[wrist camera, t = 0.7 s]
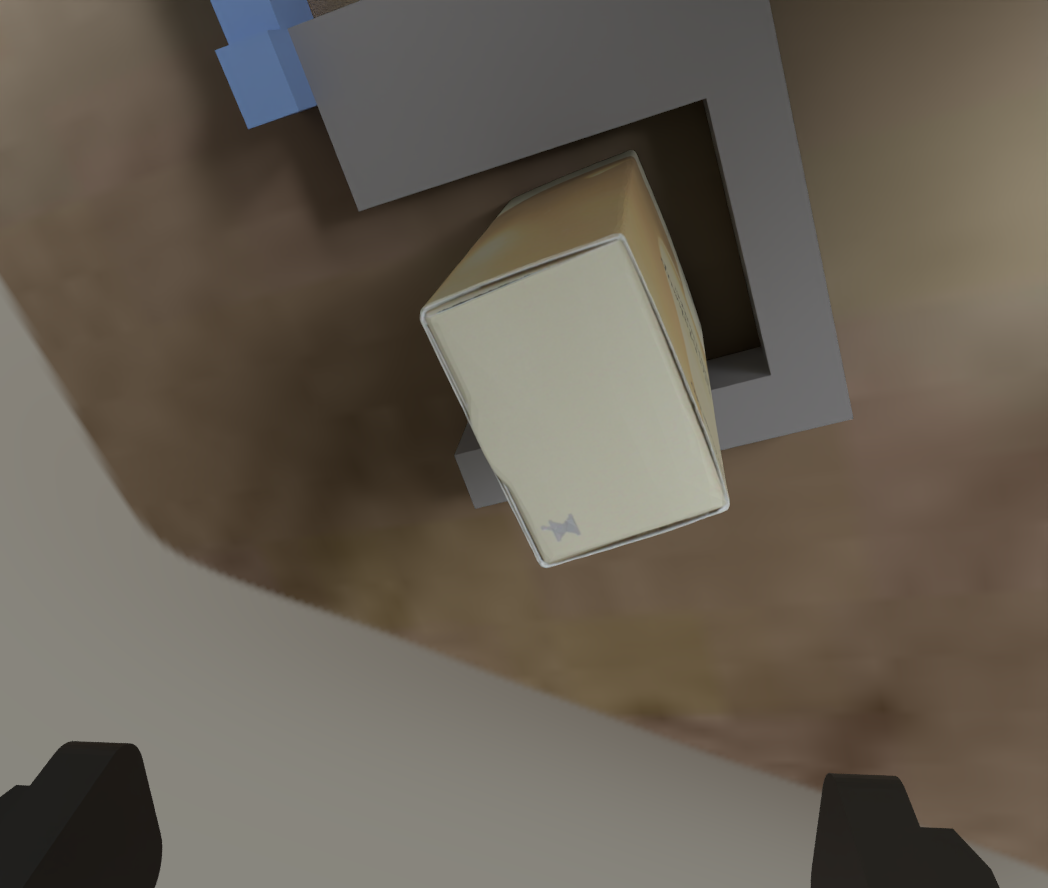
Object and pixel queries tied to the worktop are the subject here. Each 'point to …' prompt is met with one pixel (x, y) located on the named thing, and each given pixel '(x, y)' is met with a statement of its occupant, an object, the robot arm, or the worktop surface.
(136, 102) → the worktop surface
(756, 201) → the rail
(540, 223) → the skincare box
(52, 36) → the worktop surface
